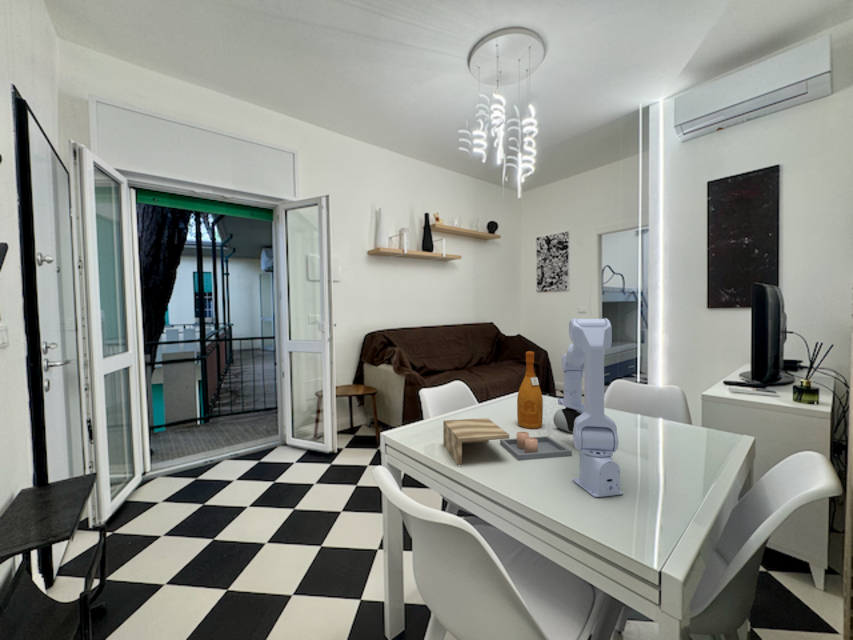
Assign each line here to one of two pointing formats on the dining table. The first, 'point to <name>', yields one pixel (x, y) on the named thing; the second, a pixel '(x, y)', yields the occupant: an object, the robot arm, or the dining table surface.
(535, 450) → the pink round cylinder
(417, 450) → the dining table surface
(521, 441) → the peg
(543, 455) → the tray
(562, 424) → the ceramic mug
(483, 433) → the wooden l-shaped bracket
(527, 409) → the wine bottle
